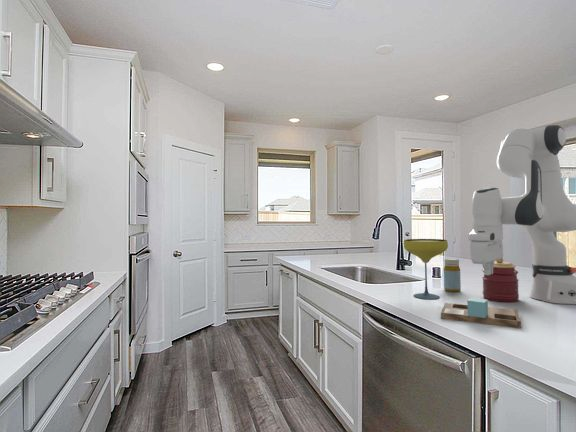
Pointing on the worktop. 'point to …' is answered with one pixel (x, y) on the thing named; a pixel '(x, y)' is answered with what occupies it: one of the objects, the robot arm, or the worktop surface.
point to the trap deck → (494, 317)
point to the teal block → (477, 307)
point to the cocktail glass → (426, 257)
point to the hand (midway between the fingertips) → (488, 274)
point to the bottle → (452, 275)
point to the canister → (501, 283)
